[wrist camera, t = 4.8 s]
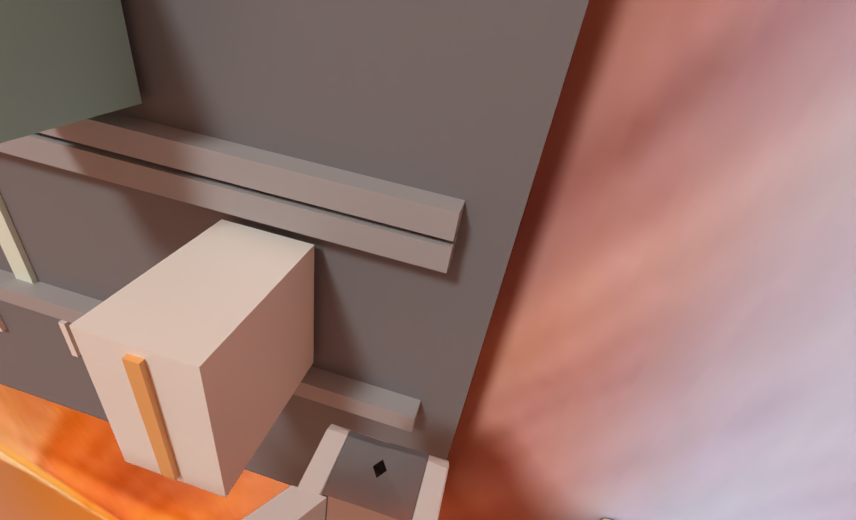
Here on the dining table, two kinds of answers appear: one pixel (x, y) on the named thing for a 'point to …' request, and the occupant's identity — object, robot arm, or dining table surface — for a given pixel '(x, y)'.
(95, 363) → the fader
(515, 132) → the console
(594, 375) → the dining table surface
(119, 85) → the fader
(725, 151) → the dining table surface
